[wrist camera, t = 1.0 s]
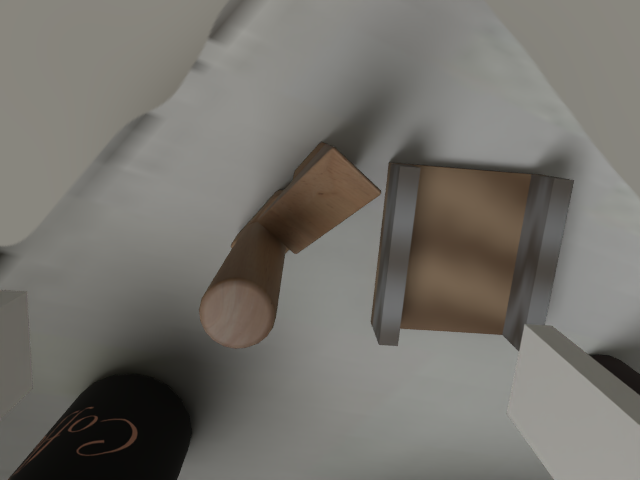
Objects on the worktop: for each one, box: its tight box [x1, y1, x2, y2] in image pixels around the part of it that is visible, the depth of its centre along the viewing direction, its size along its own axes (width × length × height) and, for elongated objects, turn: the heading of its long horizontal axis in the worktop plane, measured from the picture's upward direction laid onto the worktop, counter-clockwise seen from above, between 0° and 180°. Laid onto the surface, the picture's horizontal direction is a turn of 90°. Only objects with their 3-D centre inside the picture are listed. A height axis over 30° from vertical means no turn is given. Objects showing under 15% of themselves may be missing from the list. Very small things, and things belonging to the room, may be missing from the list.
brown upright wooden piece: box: [199, 142, 381, 348], centre depth 30 cm, size 4×11×18 cm, turn 137°
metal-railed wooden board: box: [371, 163, 574, 351], centre depth 38 cm, size 14×13×4 cm
